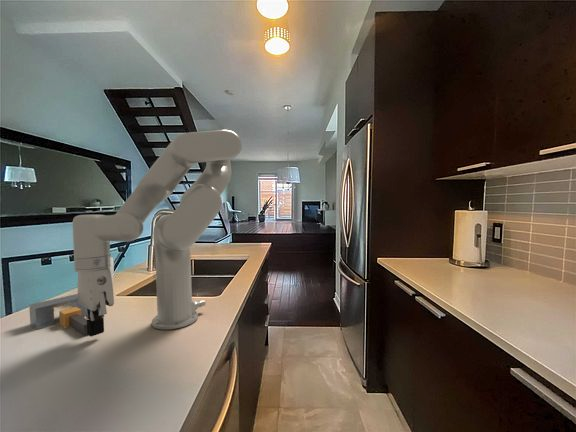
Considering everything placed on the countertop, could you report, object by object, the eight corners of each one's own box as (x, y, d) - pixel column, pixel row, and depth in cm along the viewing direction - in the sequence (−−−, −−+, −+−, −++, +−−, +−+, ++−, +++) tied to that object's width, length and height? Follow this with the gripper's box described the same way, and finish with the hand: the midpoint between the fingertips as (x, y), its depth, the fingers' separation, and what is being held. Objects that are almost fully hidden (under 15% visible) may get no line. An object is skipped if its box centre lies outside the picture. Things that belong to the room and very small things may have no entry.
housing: (96, 306, 95) (95, 289, 95) (104, 310, 91) (103, 292, 91) (30, 324, 81) (29, 304, 81) (36, 329, 78) (35, 308, 77)
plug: (74, 318, 85) (74, 306, 85) (97, 332, 75) (96, 317, 75) (58, 323, 82) (57, 310, 82) (80, 338, 72) (79, 323, 72)
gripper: (122, 263, 69) (125, 335, 70) (97, 257, 78) (99, 322, 78) (87, 269, 63) (91, 348, 64) (64, 262, 72) (67, 332, 72)
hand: (95, 333), depth 71 cm, fingers closed
